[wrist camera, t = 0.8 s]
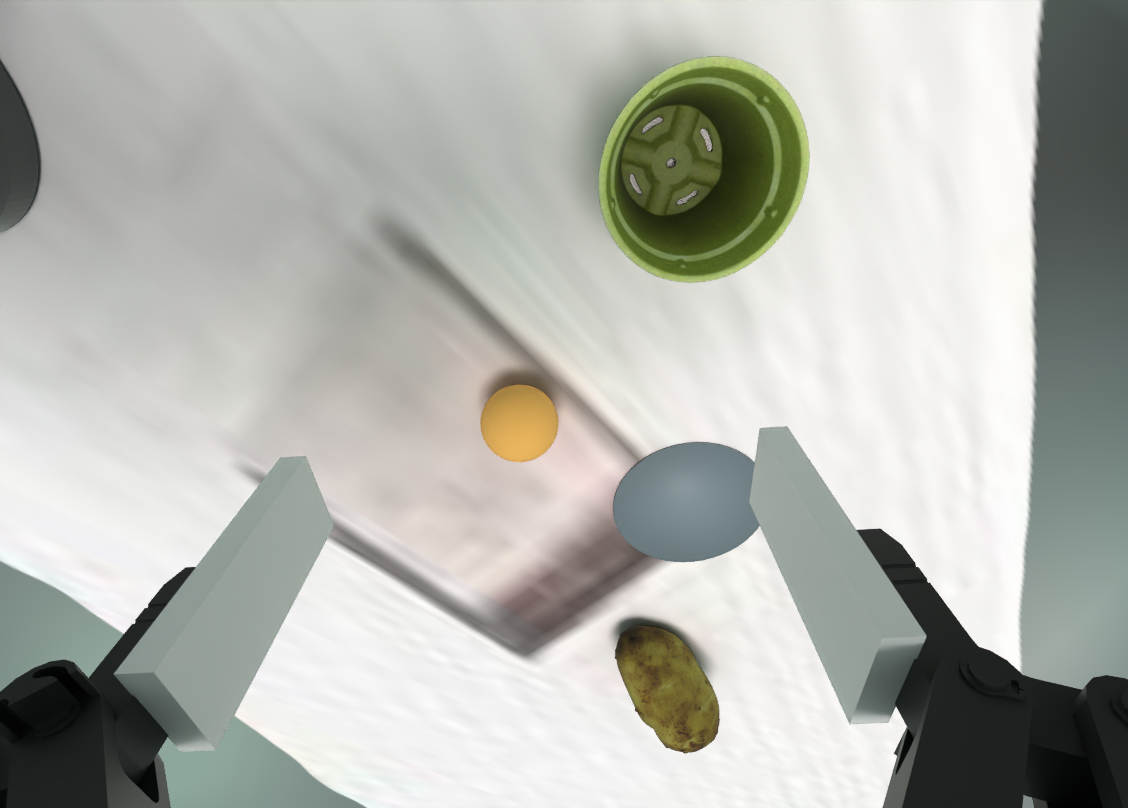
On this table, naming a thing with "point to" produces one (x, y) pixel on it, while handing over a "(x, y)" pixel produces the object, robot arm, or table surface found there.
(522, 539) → the table surface
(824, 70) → the table surface
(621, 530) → the disc
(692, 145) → the plant pot
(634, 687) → the potato
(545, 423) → the ball
